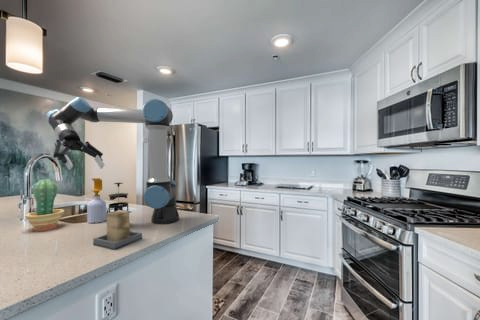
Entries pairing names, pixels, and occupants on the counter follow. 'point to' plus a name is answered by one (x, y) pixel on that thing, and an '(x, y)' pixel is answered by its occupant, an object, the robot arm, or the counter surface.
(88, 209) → the soap bottle
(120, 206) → the french press
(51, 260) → the counter surface
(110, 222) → the oak block
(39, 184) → the potted cactus
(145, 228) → the counter surface
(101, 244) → the slate tray
